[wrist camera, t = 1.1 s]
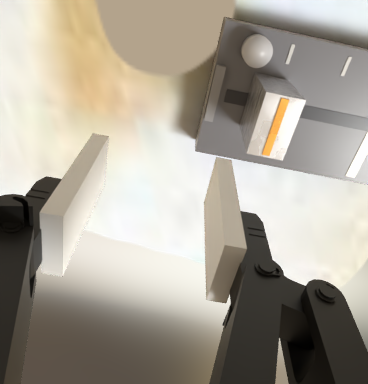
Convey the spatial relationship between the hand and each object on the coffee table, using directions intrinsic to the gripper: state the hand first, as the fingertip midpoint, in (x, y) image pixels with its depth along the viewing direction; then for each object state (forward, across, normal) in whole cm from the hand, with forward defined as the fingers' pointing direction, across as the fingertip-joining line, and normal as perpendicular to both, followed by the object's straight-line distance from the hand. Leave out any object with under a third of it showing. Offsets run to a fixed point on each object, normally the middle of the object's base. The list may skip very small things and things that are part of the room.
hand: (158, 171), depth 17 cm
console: (+19, +14, 0) cm, 23 cm away
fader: (+16, +8, 0) cm, 18 cm away
